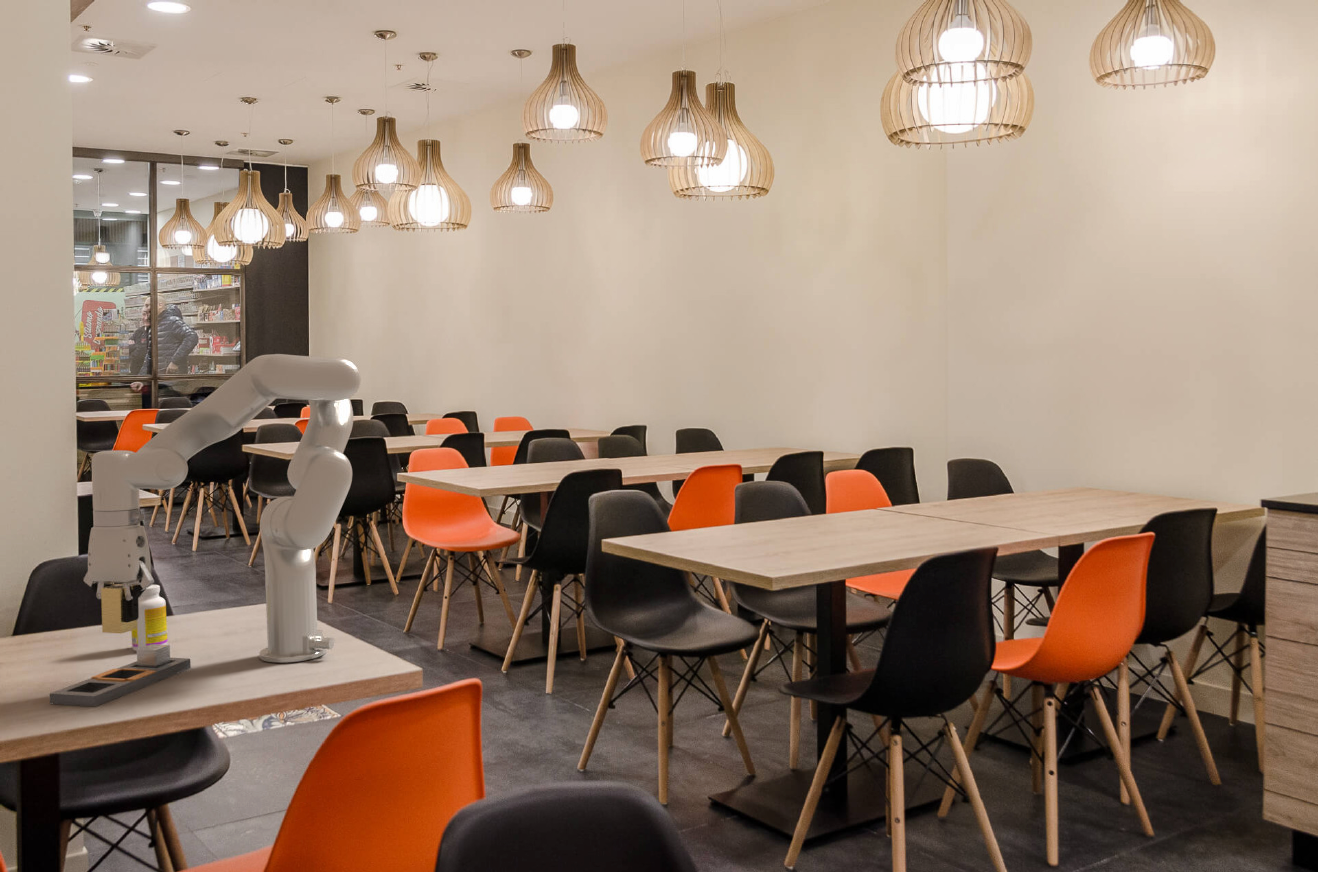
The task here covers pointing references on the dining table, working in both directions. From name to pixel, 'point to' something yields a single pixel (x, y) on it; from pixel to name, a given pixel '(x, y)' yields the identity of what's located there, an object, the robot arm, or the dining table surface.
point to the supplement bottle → (150, 620)
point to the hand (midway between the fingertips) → (119, 619)
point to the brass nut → (114, 610)
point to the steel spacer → (153, 656)
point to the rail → (116, 683)
